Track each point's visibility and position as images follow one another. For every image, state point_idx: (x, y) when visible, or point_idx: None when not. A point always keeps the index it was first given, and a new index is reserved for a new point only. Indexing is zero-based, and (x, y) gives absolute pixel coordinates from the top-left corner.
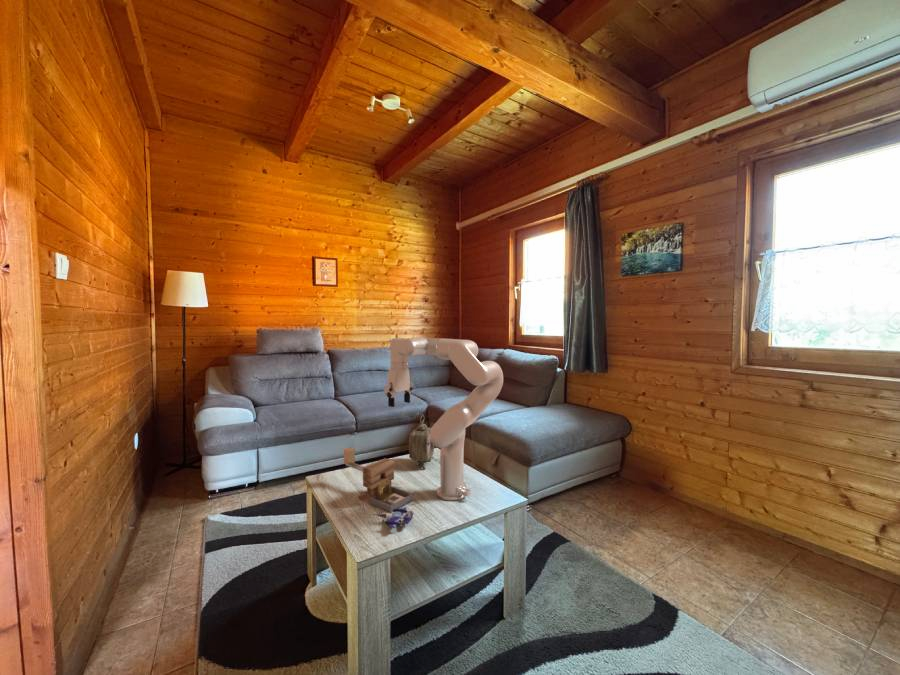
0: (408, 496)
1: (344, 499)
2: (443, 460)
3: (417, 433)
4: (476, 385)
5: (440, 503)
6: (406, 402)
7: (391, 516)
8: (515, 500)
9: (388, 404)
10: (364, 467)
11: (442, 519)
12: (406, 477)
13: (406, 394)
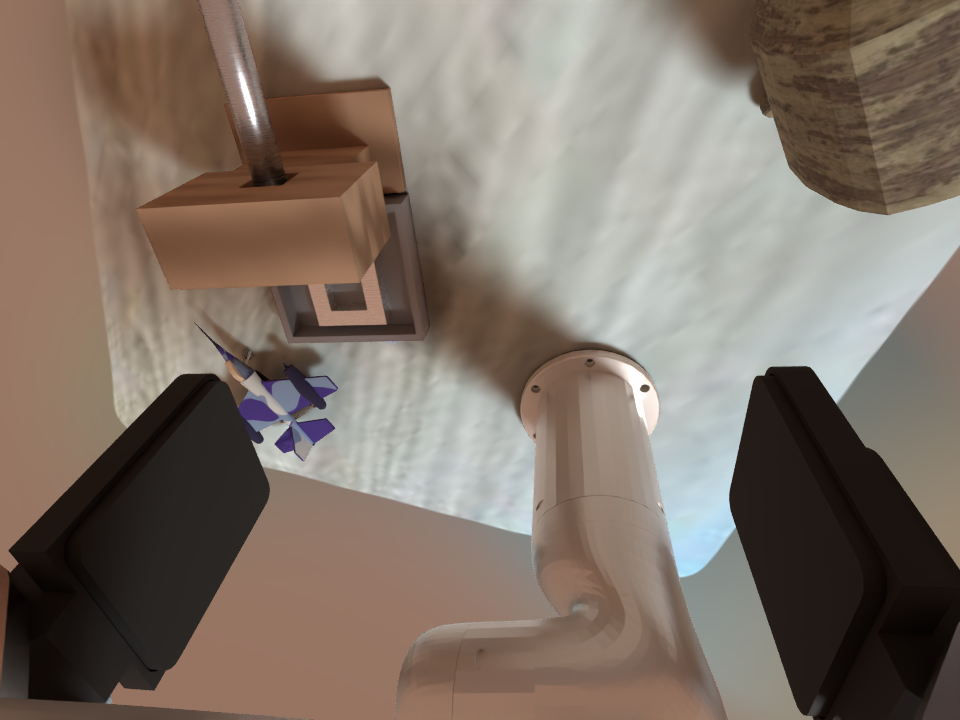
0: (396, 338)
1: (165, 52)
2: (533, 527)
3: (898, 89)
4: None
5: (492, 415)
6: (753, 426)
7: (256, 395)
8: (679, 568)
9: (167, 392)
10: (146, 218)
11: (418, 472)
12: (592, 104)
13: (824, 652)
